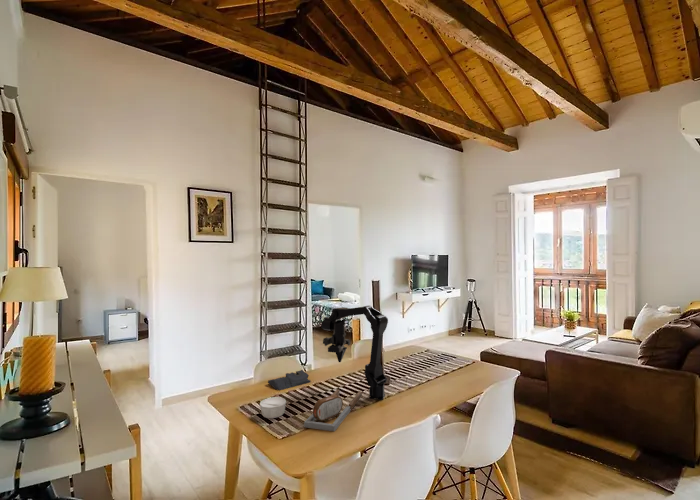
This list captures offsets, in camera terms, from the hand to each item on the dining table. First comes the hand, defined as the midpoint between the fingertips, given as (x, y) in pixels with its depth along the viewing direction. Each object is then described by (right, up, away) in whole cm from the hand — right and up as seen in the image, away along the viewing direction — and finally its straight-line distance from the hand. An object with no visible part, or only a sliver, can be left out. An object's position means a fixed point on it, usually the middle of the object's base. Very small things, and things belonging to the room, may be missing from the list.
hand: (339, 362), depth 195 cm
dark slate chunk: (-28, -14, +8) cm, 32 cm away
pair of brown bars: (+2, -13, -19) cm, 23 cm away
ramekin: (-28, -13, -32) cm, 45 cm away
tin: (-4, -13, -36) cm, 39 cm away
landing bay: (-4, -13, -37) cm, 39 cm away
